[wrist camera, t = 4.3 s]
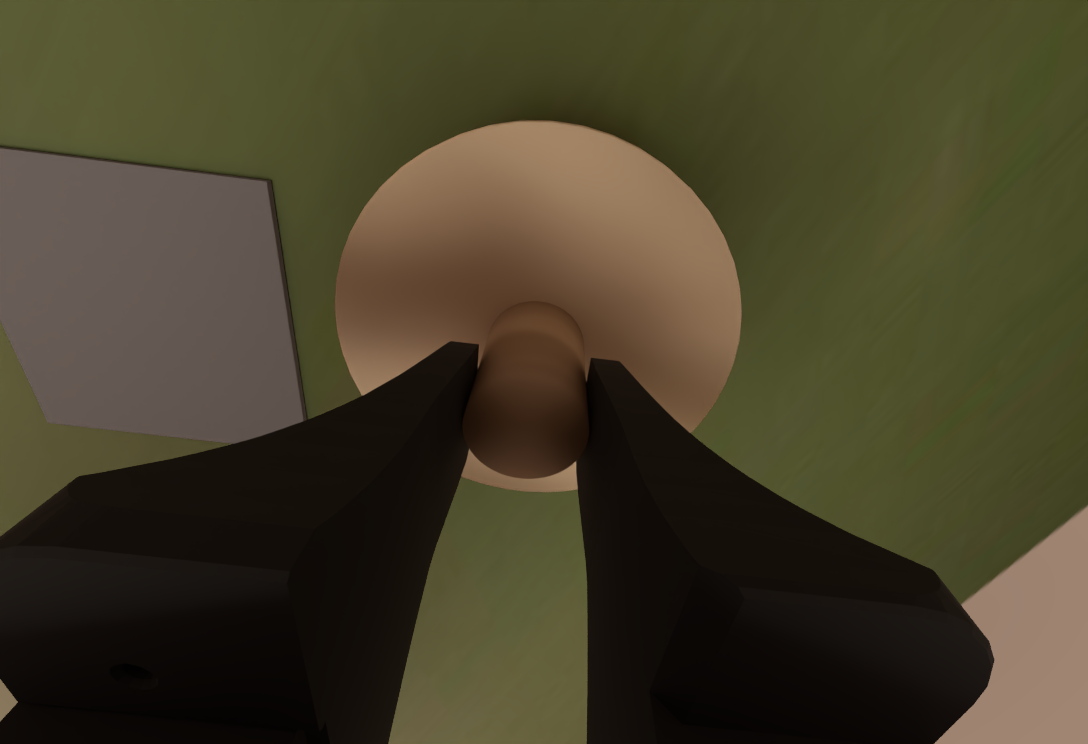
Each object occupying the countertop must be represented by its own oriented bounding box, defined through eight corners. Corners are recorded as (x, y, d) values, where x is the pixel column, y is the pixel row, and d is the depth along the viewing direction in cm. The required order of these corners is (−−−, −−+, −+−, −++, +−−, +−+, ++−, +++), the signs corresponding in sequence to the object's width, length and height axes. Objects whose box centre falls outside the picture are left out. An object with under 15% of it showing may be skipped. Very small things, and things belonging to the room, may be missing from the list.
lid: (659, 497, 16) (687, 624, 12) (348, 442, 15) (277, 558, 11) (802, 176, 11) (928, 224, 7) (345, 70, 10) (216, 63, 6)
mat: (311, 448, 23) (308, 452, 23) (53, 419, 23) (48, 422, 22) (271, 180, 17) (266, 181, 17) (-75, 137, 17) (-86, 137, 17)
